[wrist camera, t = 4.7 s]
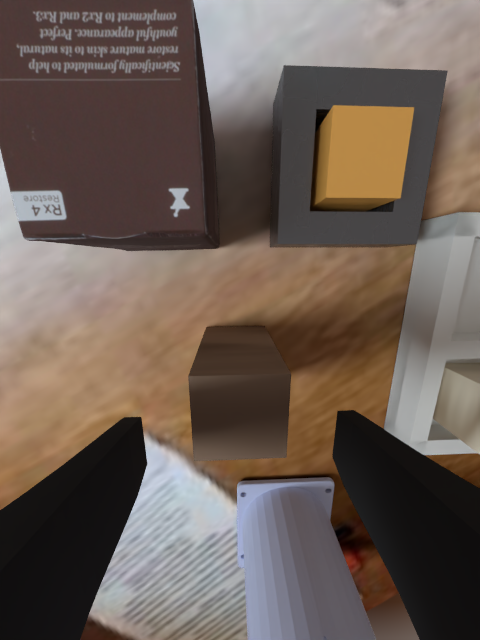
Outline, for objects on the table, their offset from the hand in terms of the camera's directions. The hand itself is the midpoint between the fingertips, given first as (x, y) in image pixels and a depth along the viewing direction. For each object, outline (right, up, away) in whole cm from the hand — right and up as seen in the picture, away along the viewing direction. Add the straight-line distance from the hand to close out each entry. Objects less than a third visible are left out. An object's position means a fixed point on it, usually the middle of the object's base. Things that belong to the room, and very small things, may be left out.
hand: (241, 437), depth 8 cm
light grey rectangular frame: (+16, +3, +8) cm, 18 cm away
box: (-4, +12, +5) cm, 14 cm away
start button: (+6, +13, +5) cm, 15 cm away
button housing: (+6, +13, +5) cm, 15 cm away
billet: (0, +2, +8) cm, 8 cm away
